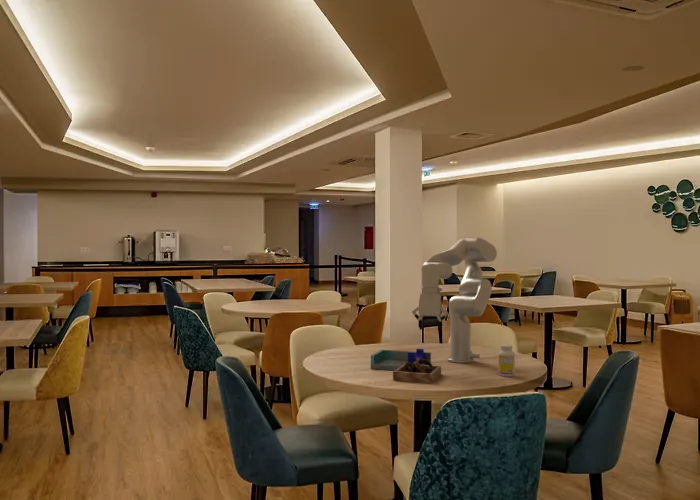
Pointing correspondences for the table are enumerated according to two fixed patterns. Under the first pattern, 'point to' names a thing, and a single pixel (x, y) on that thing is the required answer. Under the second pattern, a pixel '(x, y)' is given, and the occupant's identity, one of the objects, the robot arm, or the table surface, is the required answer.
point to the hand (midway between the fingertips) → (430, 329)
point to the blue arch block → (415, 355)
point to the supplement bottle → (506, 361)
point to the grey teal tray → (392, 359)
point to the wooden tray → (417, 374)
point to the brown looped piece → (418, 366)
